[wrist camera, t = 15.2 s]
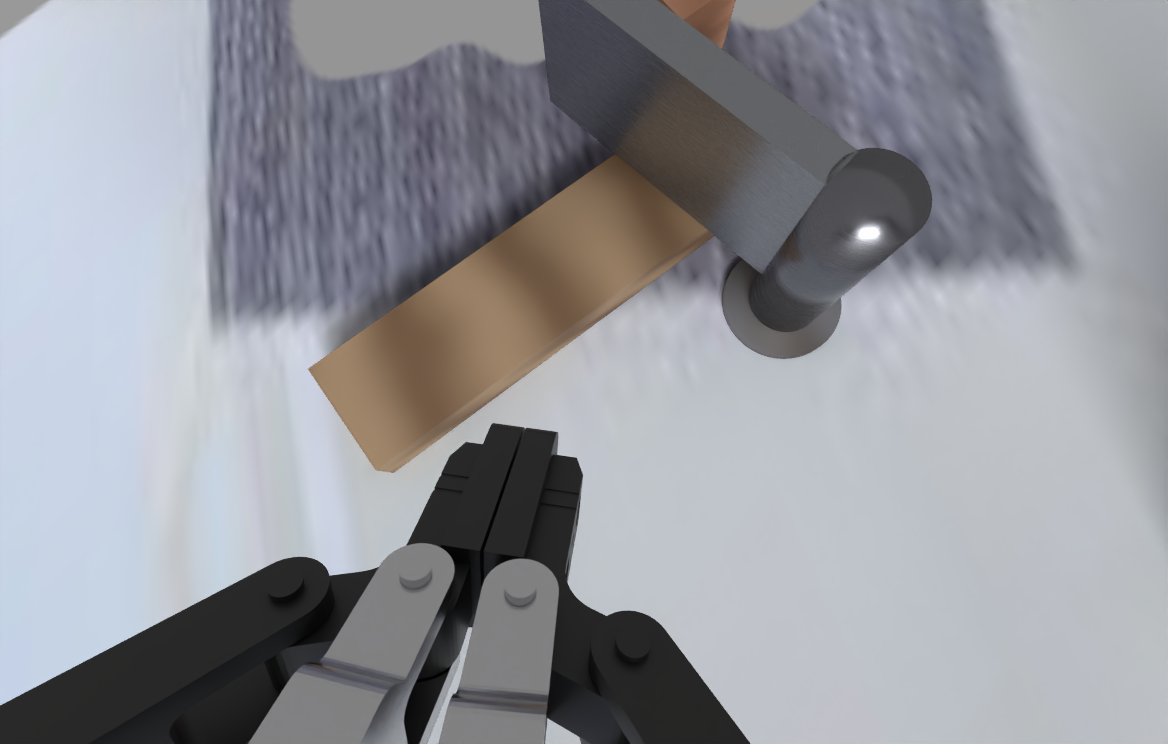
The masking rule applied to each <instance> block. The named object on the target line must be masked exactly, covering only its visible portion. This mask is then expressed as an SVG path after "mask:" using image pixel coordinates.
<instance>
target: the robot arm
mask: <svg viewBox="0 0 1168 744" xmlns="http://www.w3.org/2000/svg"><path fill="white" fill-rule="evenodd" d="M557 447H558V432H553V431H546V430H539V429H532V428H526V429H525V428H524V427H517V426H509V425H502V424H495V423H493V424H492V425H491V427H490V429H489V431H488V434H487V436H486V438H485V441H484V443H483V444H476V443H469V442H466V443H465V444H463V445H462V446H461V447H460V448H459V449H458V450H456V451H455V452H454V453H453V454H452V455H450V457H449V459H448V461H447V463H446V465H445V467H444V469H443V471H442V475H441V477H439V480H438V482H437V484H436V486H435V490H434V491H433V492H432V494H431V496H430V498H429V500H428V502H427V504H426V506H425V508H424V511H423V513H422V515H421V517H420V519H419V521H418V523H417V525H416V527H415V529H414V531H413V533H412V535H411V537H410V539H409V542H408V543H407V545H406V546H404V547H402V548H399V549H398V550H396V551H394V552H393V553H391V554H390V555H389V556H388V557H387V558H386V559H385V560H384V561H383V562H382V563H381V565H380V566H379V567H378V568H375V569H372V570H368V571H363V572H355V573H348V574H340V575H332V576H329V573H328V571H327V569H326V567H325V566H324V565H323V564H322V563H320V562H319V561H317V560H315V559H312V558H307V557H292V558H287V559H283V560H280V561H277V562H275V563H273V564H271V565H269V566H267V567H265V568H263V569H261V570H259V571H257V572H256V573H254V574H252V575H250V576H248V577H246V578H244V579H242V580H240V581H238V582H236V583H234V584H233V585H231V586H229V587H227V588H225V589H223V590H221V591H219V592H217V593H215V594H213V595H211V596H210V597H208V598H206V599H204V600H202V601H200V602H198V603H196V604H194V605H192V606H190V607H188V608H187V609H185V610H183V611H181V612H179V613H177V614H175V615H173V616H171V617H169V618H167V619H165V620H164V621H162V622H160V623H158V624H156V625H154V626H152V627H150V628H148V629H146V630H144V631H142V632H141V633H139V634H137V635H135V636H133V637H131V638H129V639H127V640H125V641H123V642H121V643H119V644H118V645H116V646H114V647H112V648H110V649H108V650H106V651H104V652H102V653H100V654H98V655H96V656H94V657H93V658H91V659H89V660H87V661H85V662H83V663H81V664H79V665H77V666H75V667H73V668H71V669H70V670H68V671H66V672H64V673H62V674H60V675H58V676H56V677H54V678H52V679H50V680H48V681H47V682H45V683H43V684H41V685H39V686H37V687H35V688H33V689H31V690H29V691H27V692H25V693H24V694H22V695H20V696H18V697H16V698H14V699H12V700H10V701H8V702H6V703H4V704H2V705H1V706H0V744H427V743H428V741H429V738H430V736H431V733H432V731H433V728H434V726H435V723H436V721H437V718H438V716H439V713H440V711H441V708H442V706H443V703H444V701H445V698H446V696H447V693H448V691H449V688H450V686H451V683H452V681H453V678H454V676H455V673H456V671H457V668H458V665H459V662H460V651H461V648H462V645H463V642H464V639H465V635H466V632H467V629H468V627H473V628H472V633H471V637H470V641H469V646H468V650H467V654H466V659H465V663H464V667H463V671H462V676H461V680H460V684H459V687H458V690H457V692H456V694H453V695H452V697H451V699H450V702H449V705H448V708H447V712H446V716H445V720H444V724H443V728H442V732H441V736H440V740H439V744H545V738H546V728H547V718H548V719H550V720H552V721H553V722H555V723H557V724H559V725H560V726H562V727H564V728H565V729H567V730H569V731H570V732H572V733H574V734H575V735H577V736H579V737H580V741H581V744H750V742H749V741H748V740H747V738H746V737H745V736H744V734H743V733H742V732H741V730H740V729H739V728H738V726H737V725H736V724H735V722H734V721H733V720H732V718H731V717H730V716H729V714H728V713H727V712H726V710H725V709H724V708H723V706H722V705H721V704H720V702H719V701H718V700H717V698H716V697H715V696H714V694H713V693H712V692H711V690H710V689H709V688H708V686H707V685H706V684H705V682H704V681H703V680H702V678H701V677H700V676H699V674H698V673H697V672H696V670H695V669H694V668H693V666H692V665H691V664H690V662H689V661H688V660H687V658H686V657H685V656H684V654H683V653H682V652H681V650H680V649H679V648H678V646H677V645H676V644H675V642H674V641H673V640H672V638H671V637H670V636H669V634H668V633H667V632H666V630H665V629H664V628H663V627H662V626H661V625H660V624H659V623H658V622H657V621H656V620H654V619H653V618H651V617H650V616H648V615H645V614H643V613H640V612H636V611H620V612H615V613H613V614H610V615H608V616H605V615H603V614H601V613H599V612H597V611H595V610H593V609H591V608H589V607H588V606H586V605H584V604H583V603H582V602H581V601H579V600H578V599H577V598H576V597H575V595H574V594H573V593H572V591H571V590H570V588H569V586H568V583H567V581H568V576H569V570H570V564H571V558H572V553H573V548H574V541H575V536H576V531H577V525H578V518H579V508H580V499H581V489H582V479H583V474H582V471H581V468H580V466H579V463H578V460H577V458H574V457H567V456H560V455H557Z"/></svg>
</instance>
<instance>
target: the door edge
mask: <svg viewBox="0 0 1168 744" xmlns="http://www.w3.org/2000/svg"><path fill="white" fill-rule="evenodd" d="M657 1H659V2H660V3H661V4H663V5H664V6H665V7H667V8H668V9H669V10H671V11H672V12H673V13H675V14H676V15H677V16H679V17H680V18H681V19H683V20H684V21H685V22H687V23H688V24H689V25H691V26H692V27H693V28H695V29H696V30H697V31H699V32H700V33H701V34H703V35H704V36H706V37H707V38H708V39H710V40H711V41H712V42H714V43H715V44H716V45H718V46H719V47H720V48H723V45H724V41H725V37H726V34H727V30H728V26H729V23H730V19H731V15H732V12H733V8H734V4H735V1H736V0H657ZM712 237H714V235H713V234H712V233H711V232H710V231H708V230H707V229H706V228H705V227H703V226H702V225H701V224H700V223H699V222H697V221H696V220H695V219H694V218H692V217H691V216H690V215H689V214H688V213H686V212H685V211H684V210H683V209H681V208H680V207H679V206H678V205H677V204H675V203H674V202H673V201H672V200H671V199H669V198H668V197H667V196H666V195H664V194H663V193H662V192H661V191H660V190H658V189H657V188H656V187H655V186H653V185H652V184H651V183H650V182H649V181H647V180H646V179H645V178H644V177H642V176H641V175H640V174H639V173H638V172H636V171H635V170H634V169H633V168H631V167H630V166H629V165H628V164H627V163H625V162H624V161H623V160H622V159H620V158H619V157H618V156H617V155H616V154H614V155H613V156H611V157H610V158H608V159H607V160H606V161H604V162H603V163H601V164H600V165H598V166H597V167H596V168H594V169H593V170H591V171H590V172H588V173H587V174H586V175H584V176H583V177H581V178H580V179H578V180H577V181H576V182H574V183H573V184H571V185H570V186H568V187H567V188H566V189H564V190H563V191H561V192H560V193H558V194H557V195H556V196H554V197H553V198H551V199H550V200H548V201H547V202H546V203H544V204H543V205H541V206H540V207H538V208H537V209H536V210H534V211H533V212H531V213H530V214H528V215H527V216H526V217H524V218H523V219H521V220H520V221H518V222H517V223H516V224H514V225H513V226H511V227H510V228H508V229H507V230H506V231H504V232H503V233H501V234H500V235H498V236H497V237H496V238H494V239H493V240H491V241H490V242H488V243H487V244H486V245H484V246H483V247H481V248H480V249H478V250H477V251H476V252H474V253H473V254H471V255H470V256H468V257H467V258H466V259H464V260H463V261H461V262H460V263H458V264H457V265H456V266H454V267H453V268H451V269H450V270H448V271H447V272H446V273H444V274H443V275H441V276H440V277H438V278H437V279H436V280H434V281H433V282H431V283H430V284H428V285H427V286H426V287H424V288H423V289H421V290H420V291H418V292H417V293H416V294H414V295H413V296H411V297H410V298H409V299H407V300H406V301H404V302H403V303H401V304H400V305H399V306H397V307H396V308H394V309H393V310H391V311H390V312H389V313H387V314H386V315H384V316H383V317H381V318H380V319H379V320H377V321H376V322H374V323H373V324H371V325H370V326H369V327H367V328H366V329H364V330H363V331H361V332H360V333H359V334H357V335H356V336H354V337H353V338H351V339H350V340H349V341H347V342H346V343H344V344H343V345H341V346H340V347H339V348H337V349H336V350H334V351H333V352H331V353H330V354H329V355H327V356H326V357H324V358H323V359H321V360H320V361H319V362H317V363H316V364H314V365H313V366H311V367H310V368H309V369H308V370H309V371H310V373H311V374H312V376H313V377H314V379H315V380H316V382H317V383H318V385H319V386H320V388H321V389H322V391H323V392H324V394H325V395H326V397H327V398H328V400H329V401H330V403H331V404H332V406H333V407H334V409H335V410H336V412H337V413H338V415H339V416H340V418H341V419H342V421H343V422H344V424H345V425H346V427H347V428H348V430H349V431H350V433H351V434H352V436H353V437H354V439H355V440H356V442H357V443H358V444H359V446H360V447H361V449H362V450H363V452H364V453H365V455H366V456H367V458H368V459H369V461H370V462H371V464H372V465H373V467H374V468H375V470H378V471H385V472H392V473H394V472H395V471H397V470H398V469H399V468H401V467H402V466H403V465H405V464H406V463H407V462H409V461H410V460H411V459H413V458H414V457H416V456H417V455H418V454H420V453H421V452H422V451H424V450H425V449H426V448H428V447H429V446H430V445H432V444H433V443H434V442H436V441H437V440H439V439H440V438H441V437H443V436H444V435H445V434H447V433H448V432H449V431H451V430H452V429H453V428H455V427H456V426H458V425H459V424H460V423H462V422H463V421H464V420H466V419H467V418H468V417H470V416H471V415H472V414H474V413H475V412H476V411H478V410H479V409H481V408H482V407H483V406H485V405H486V404H487V403H489V402H490V401H491V400H493V399H494V398H495V397H497V396H498V395H499V394H501V393H502V392H504V391H505V390H506V389H508V388H509V387H510V386H512V385H513V384H514V383H516V382H517V381H518V380H520V379H521V378H523V377H524V376H525V375H527V374H528V373H529V372H531V371H532V370H533V369H535V368H536V367H537V366H539V365H540V364H541V363H543V362H544V361H546V360H547V359H548V358H550V357H551V356H552V355H554V354H555V353H556V352H558V351H559V350H560V349H562V348H563V347H565V346H566V345H567V344H569V343H570V342H571V341H573V340H574V339H575V338H577V337H578V336H579V335H581V334H582V333H583V332H585V331H586V330H588V329H589V328H590V327H592V326H593V325H594V324H596V323H597V322H598V321H600V320H601V319H602V318H604V317H605V316H607V315H608V314H609V313H611V312H612V311H613V310H615V309H616V308H617V307H619V306H620V305H621V304H623V303H624V302H625V301H627V300H628V299H630V298H631V297H632V296H634V295H635V294H636V293H638V292H639V291H640V290H642V289H643V288H644V287H646V286H647V285H648V284H650V283H651V282H653V281H654V280H655V279H657V278H658V277H659V276H661V275H662V274H663V273H665V272H666V271H667V270H669V269H670V268H672V267H673V266H674V265H676V264H677V263H678V262H680V261H681V260H682V259H684V258H685V257H686V256H688V255H689V254H690V253H692V252H693V251H695V250H696V249H697V248H699V247H700V246H701V245H703V244H704V243H705V242H707V241H708V240H709V239H711V238H712ZM758 273H759V272H758V271H757V270H756V269H755V268H753V267H752V266H751V265H750V264H749V263H747V262H746V261H745V260H744V259H742V260H741V261H740V262H739V263H738V264H737V265H736V266H735V267H734V268H733V270H732V271H731V273H730V275H729V276H728V279H727V281H726V283H725V286H724V290H723V296H722V305H723V312H724V315H725V319H726V321H727V323H728V325H729V327H730V329H731V331H732V332H733V333H734V335H735V336H736V337H737V338H738V339H739V340H740V341H741V342H742V343H743V344H744V345H746V346H747V347H748V348H750V349H751V350H753V351H755V352H757V353H759V354H762V355H765V356H768V357H773V358H781V359H787V358H795V357H800V356H803V355H806V354H808V353H810V352H812V351H814V350H815V349H817V348H818V347H820V346H821V345H822V344H823V343H825V342H826V341H827V340H828V339H829V337H830V336H831V335H832V334H833V332H834V330H835V329H836V326H837V324H838V322H839V318H840V314H841V298H839V299H838V300H837V301H836V302H835V303H834V304H832V305H831V306H830V307H829V308H828V309H826V310H825V311H824V312H823V313H822V314H821V315H819V316H818V317H817V318H816V319H815V320H813V321H812V322H811V323H810V324H809V325H807V326H806V327H804V328H802V329H800V330H798V331H794V332H779V331H775V330H772V329H770V328H768V327H766V326H765V325H763V324H762V323H761V322H760V321H759V320H758V319H757V318H756V317H755V315H754V314H753V312H752V310H751V307H750V304H749V290H750V286H751V284H752V282H753V280H754V279H755V277H756V276H757V274H758Z"/></svg>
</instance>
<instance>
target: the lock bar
mask: <svg viewBox="0 0 1168 744" xmlns="http://www.w3.org/2000/svg"><path fill="white" fill-rule="evenodd" d="M539 7H540V16H541V25H542V33H543V42H544V50H545V59H546V67H547V76H548V84H549V93H550V101H551V102H552V103H553V104H555V105H556V106H557V107H558V108H559V109H561V110H562V111H563V112H564V113H566V114H567V115H568V116H569V117H570V118H572V119H573V120H574V121H575V122H577V123H578V124H579V125H580V126H581V127H583V128H584V129H585V130H586V131H588V132H589V133H590V134H591V135H592V136H594V137H595V138H596V139H597V140H599V141H600V142H601V143H602V144H603V145H605V146H606V147H607V148H608V149H609V150H611V151H612V152H613V153H614V154H616V155H617V156H618V157H619V158H620V159H622V160H623V161H624V162H625V163H627V164H628V165H629V166H630V167H631V168H633V169H634V170H635V171H636V172H638V173H639V174H640V175H641V176H642V177H644V178H645V179H646V180H647V181H649V182H650V183H651V184H652V185H653V186H655V187H656V188H657V189H658V190H660V191H661V192H662V193H663V194H664V195H666V196H667V197H668V198H669V199H671V200H672V201H673V202H674V203H675V204H677V205H678V206H679V207H680V208H681V209H683V210H684V211H685V212H686V213H688V214H689V215H690V216H691V217H692V218H694V219H695V220H696V221H697V222H699V223H700V224H701V225H702V226H703V227H705V228H706V229H707V230H708V231H710V232H711V233H712V234H713V235H714V236H716V237H717V238H718V239H719V240H721V241H722V242H723V243H724V244H725V245H727V246H728V247H729V248H730V249H732V250H733V251H734V252H735V253H736V254H738V255H739V256H740V257H741V258H742V259H744V260H745V261H746V262H747V263H749V264H750V265H751V266H752V267H753V268H755V269H756V270H757V271H758V272H759V273H758V274H757V276H756V277H755V279H754V280H753V282H752V284H751V286H750V290H749V304H750V307H751V310H752V312H753V314H754V315H755V317H756V318H757V319H758V320H759V321H760V322H761V323H762V324H763V325H765V326H766V327H768V328H770V329H772V330H775V331H779V332H794V331H798V330H800V329H802V328H804V327H806V326H807V325H809V324H810V323H811V322H812V321H813V320H815V319H816V318H817V317H818V316H819V315H821V314H822V313H823V312H824V311H825V310H826V309H828V308H829V307H830V306H831V305H832V304H834V303H835V302H836V301H837V300H838V299H839V298H841V297H842V296H843V295H844V294H845V293H847V292H848V291H849V290H850V289H851V288H852V287H854V286H855V285H856V284H857V283H858V282H860V281H861V280H862V279H863V278H864V277H865V276H867V275H868V274H869V273H870V272H871V271H872V270H874V269H875V268H876V267H877V266H878V265H880V264H881V263H882V262H883V261H884V260H885V259H887V258H888V257H889V256H890V255H891V254H893V253H894V252H895V251H896V250H897V249H898V248H900V247H901V246H902V245H903V244H904V243H906V242H907V241H908V240H909V239H910V238H911V237H913V236H914V235H915V234H916V233H917V232H918V231H919V230H920V229H921V228H922V227H923V226H924V224H925V223H926V221H927V219H928V218H929V215H930V212H931V207H932V194H931V190H930V186H929V184H928V181H927V179H926V178H925V176H924V174H923V173H922V172H921V170H920V169H919V168H918V167H917V166H916V165H915V164H914V163H913V162H912V161H910V160H909V159H907V158H906V157H904V156H902V155H900V154H898V153H896V152H893V151H890V150H886V149H880V148H866V149H860V150H856V149H855V148H854V147H852V146H851V145H850V144H848V143H847V142H846V141H844V140H843V139H842V138H840V137H839V136H838V135H836V134H835V133H834V132H832V131H831V130H830V129H828V128H827V127H826V126H824V125H823V124H822V123H820V122H819V121H818V120H816V119H815V118H814V117H812V116H811V115H810V114H808V113H807V112H806V111H804V110H803V109H802V108H800V107H799V106H798V105H796V104H795V103H794V102H792V101H791V100H790V99H788V98H787V97H786V96H784V95H783V94H782V93H780V92H779V91H778V90H776V89H775V88H774V87H772V86H771V85H770V84H768V83H767V82H766V81H764V80H763V79H762V78H760V77H759V76H758V75H756V74H755V73H754V72H752V71H751V70H750V69H748V68H747V67H746V66H744V65H743V64H742V63H740V62H739V61H738V60H736V59H735V58H734V57H732V56H731V55H730V54H728V53H727V52H726V51H724V50H723V49H722V48H720V47H719V46H718V45H716V44H715V43H714V42H712V41H711V40H710V39H708V38H707V37H706V36H704V35H703V34H701V33H700V32H699V31H697V30H696V29H695V28H693V27H692V26H691V25H689V24H688V23H687V22H685V21H684V20H683V19H681V18H680V17H679V16H677V15H676V14H675V13H673V12H672V11H671V10H669V9H668V8H667V7H665V6H664V5H663V4H661V3H660V2H659V1H657V0H539Z"/></svg>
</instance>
